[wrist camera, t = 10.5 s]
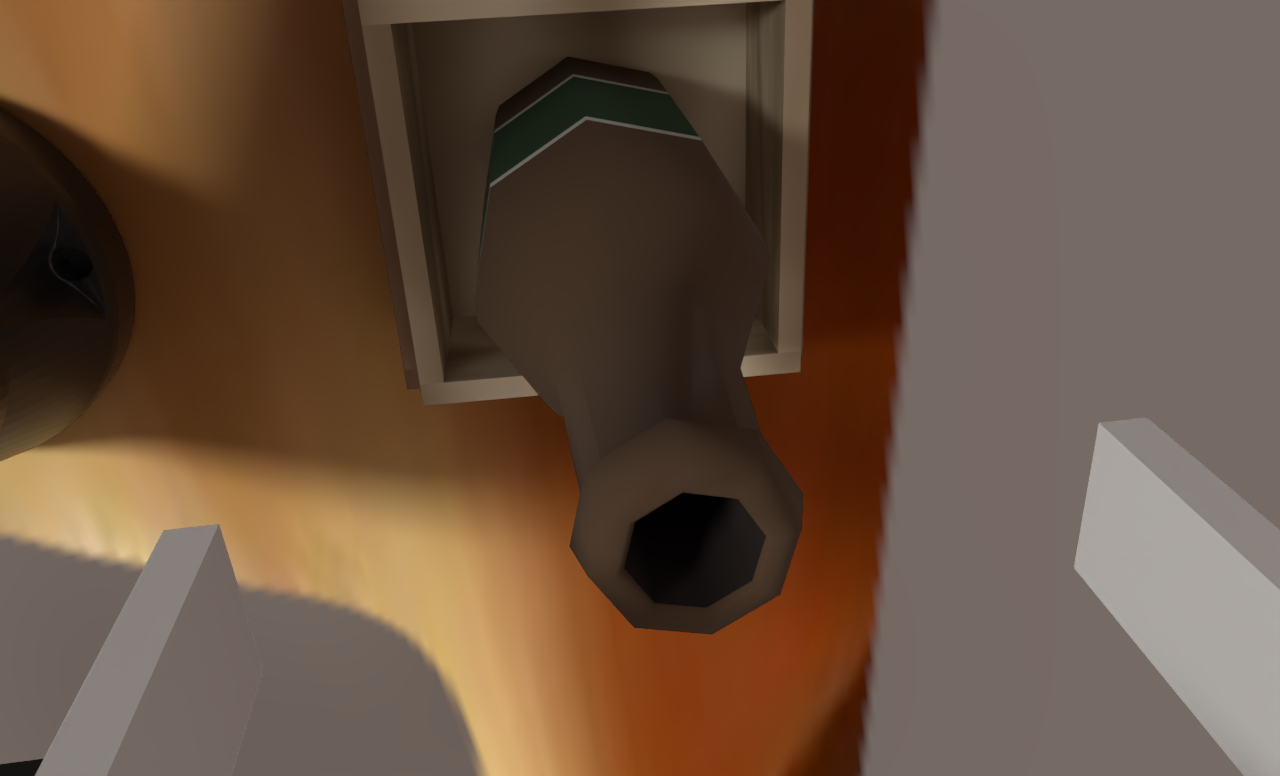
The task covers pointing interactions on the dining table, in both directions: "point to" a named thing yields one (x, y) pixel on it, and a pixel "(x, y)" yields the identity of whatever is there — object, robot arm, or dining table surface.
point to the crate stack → (509, 61)
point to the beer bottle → (638, 341)
